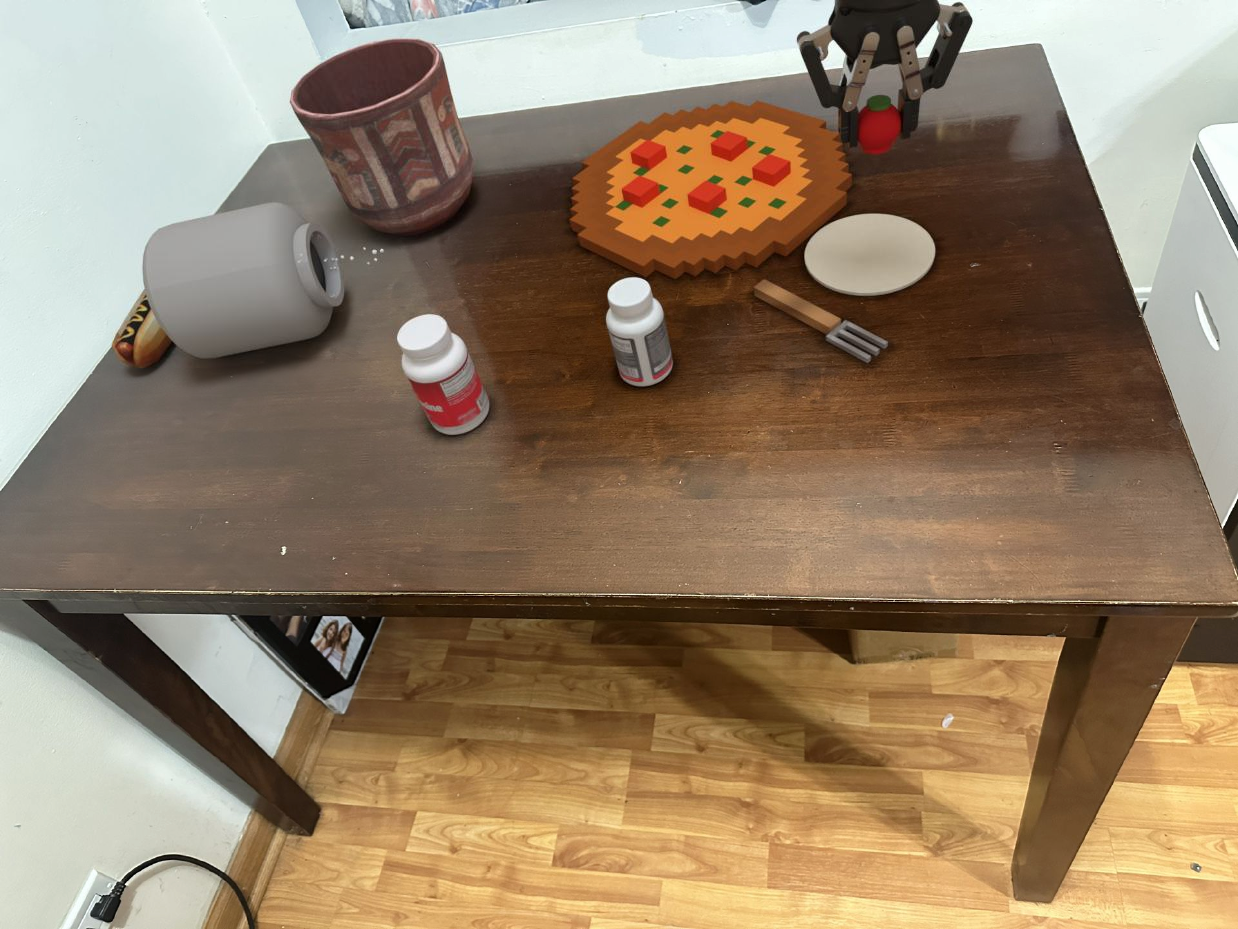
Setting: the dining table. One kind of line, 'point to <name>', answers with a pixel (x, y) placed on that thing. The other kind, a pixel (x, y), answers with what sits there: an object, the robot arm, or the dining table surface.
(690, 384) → the dining table surface
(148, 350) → the hot dog
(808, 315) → the fork
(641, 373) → the pill bottle
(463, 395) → the pill bottle
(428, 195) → the pottery
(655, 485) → the dining table surface
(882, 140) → the strawberry
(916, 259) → the plate
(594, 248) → the pizza
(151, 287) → the jar
